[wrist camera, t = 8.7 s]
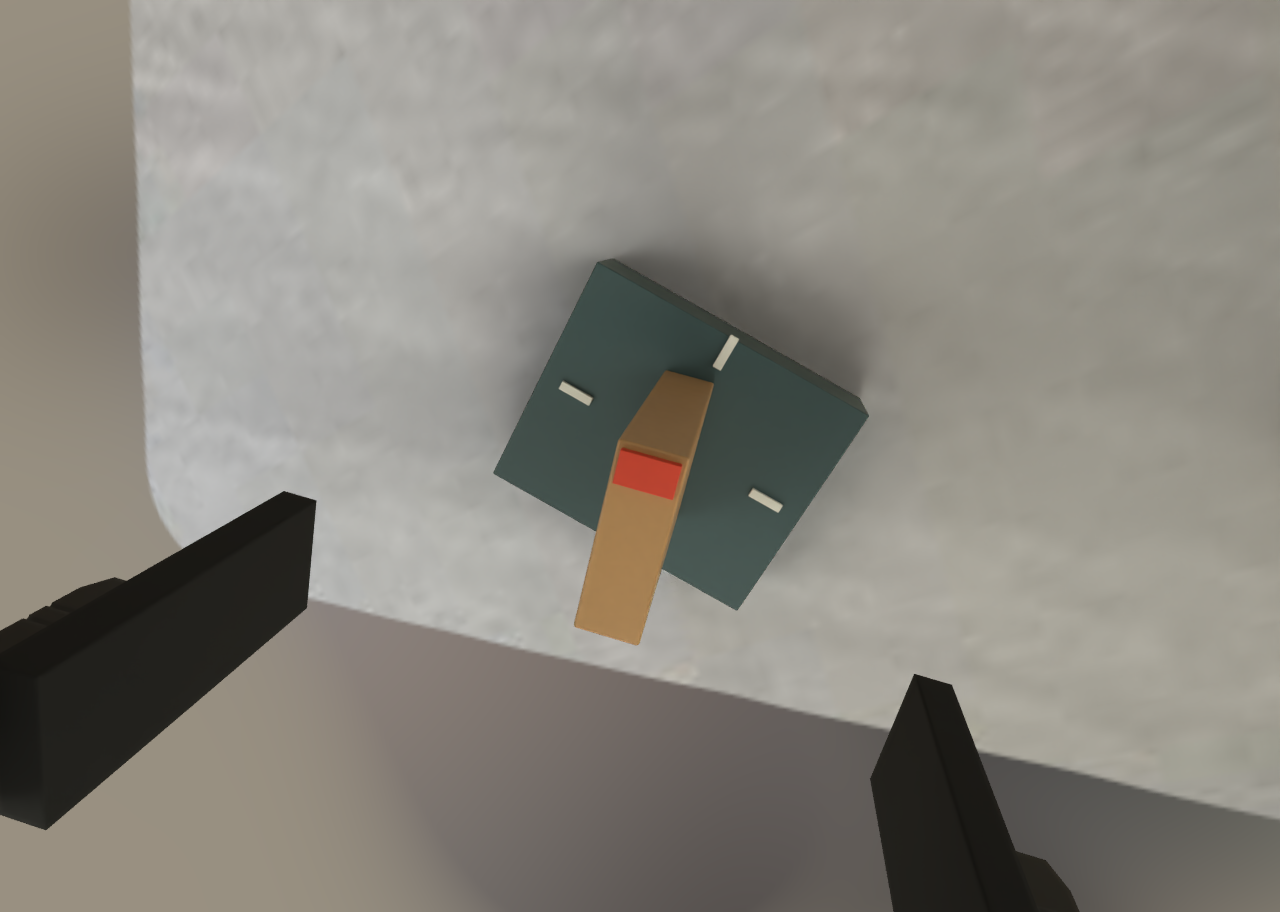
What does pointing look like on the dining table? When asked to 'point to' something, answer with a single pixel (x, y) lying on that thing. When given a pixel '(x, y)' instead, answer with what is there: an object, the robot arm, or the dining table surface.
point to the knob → (642, 507)
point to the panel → (729, 440)
